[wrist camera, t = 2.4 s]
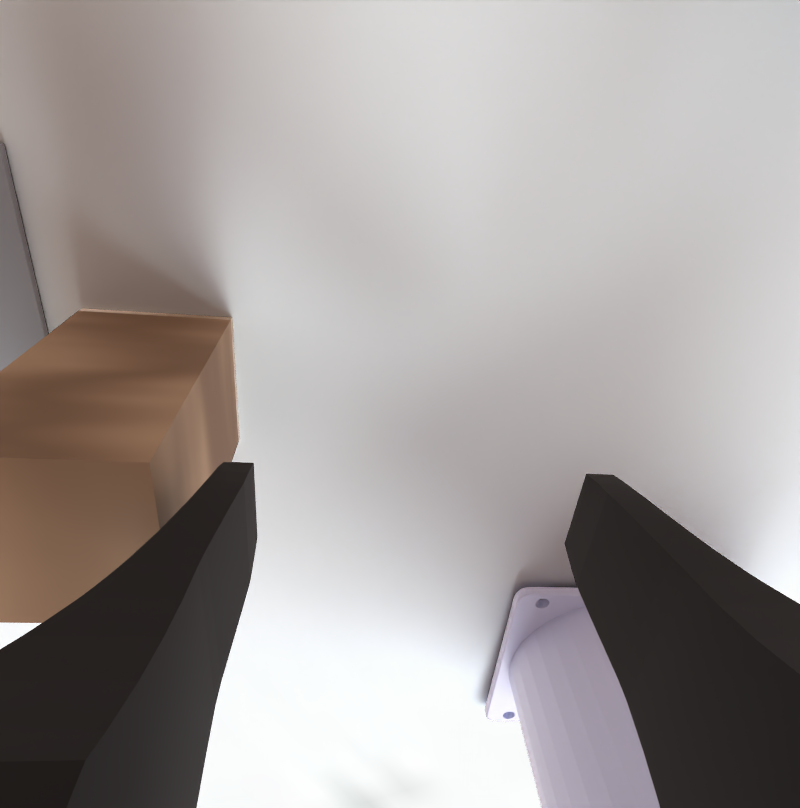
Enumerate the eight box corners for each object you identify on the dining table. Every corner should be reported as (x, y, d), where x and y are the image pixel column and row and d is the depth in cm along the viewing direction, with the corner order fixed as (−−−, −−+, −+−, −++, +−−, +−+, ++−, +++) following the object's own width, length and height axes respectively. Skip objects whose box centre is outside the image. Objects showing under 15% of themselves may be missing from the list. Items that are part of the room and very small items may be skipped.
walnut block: (232, 317, 16) (148, 462, 9) (239, 438, 17) (174, 623, 11) (81, 308, 15) (-107, 453, 9) (106, 432, 17) (-36, 621, 11)
